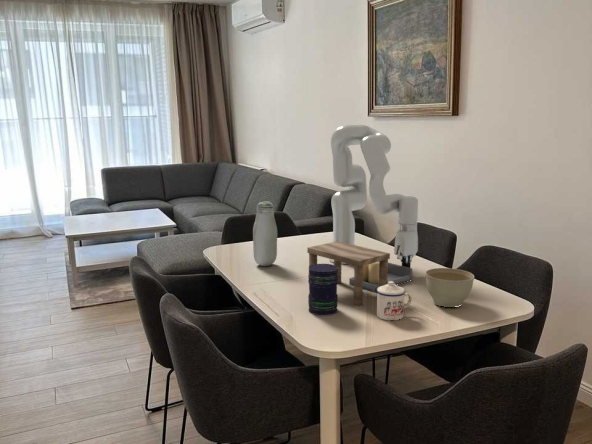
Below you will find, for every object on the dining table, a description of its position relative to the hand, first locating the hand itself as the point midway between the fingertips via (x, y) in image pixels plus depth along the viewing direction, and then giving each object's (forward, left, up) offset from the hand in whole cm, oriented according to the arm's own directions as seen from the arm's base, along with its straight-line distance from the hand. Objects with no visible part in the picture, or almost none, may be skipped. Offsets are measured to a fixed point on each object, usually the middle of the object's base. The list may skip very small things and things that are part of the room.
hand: (405, 271), depth 231 cm
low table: (+34, 0, -2) cm, 34 cm away
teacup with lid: (+40, +27, -2) cm, 49 cm away
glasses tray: (+15, 0, -2) cm, 15 cm away
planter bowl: (+17, +32, -2) cm, 36 cm away
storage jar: (+54, +8, -2) cm, 55 cm away
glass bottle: (+33, -50, -2) cm, 60 cm away
